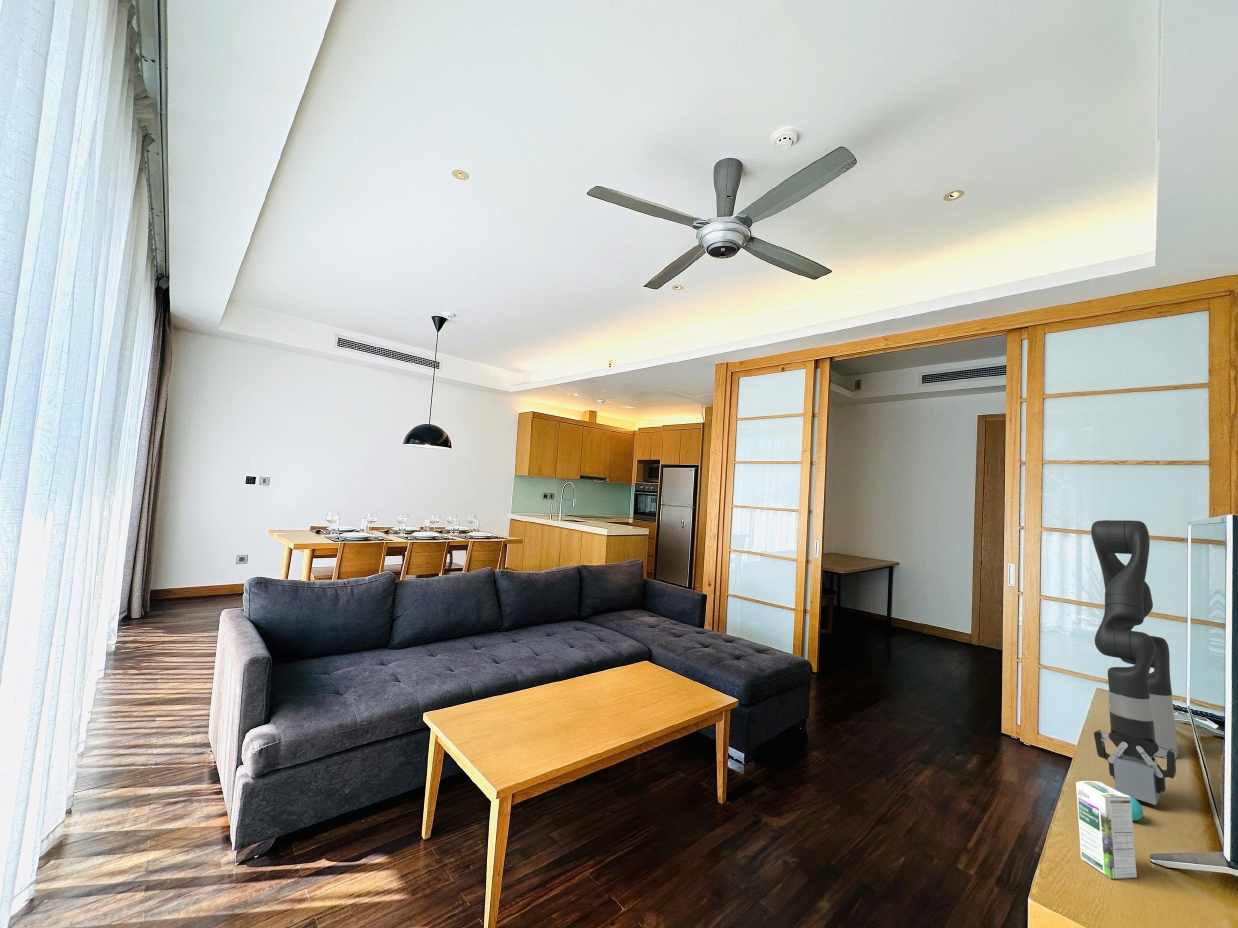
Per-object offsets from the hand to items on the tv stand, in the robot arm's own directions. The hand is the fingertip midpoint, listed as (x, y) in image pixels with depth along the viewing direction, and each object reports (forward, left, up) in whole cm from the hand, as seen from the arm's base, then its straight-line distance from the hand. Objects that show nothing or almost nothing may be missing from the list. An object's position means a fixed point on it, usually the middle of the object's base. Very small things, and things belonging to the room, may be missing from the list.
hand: (1137, 785), depth 118 cm
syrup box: (+39, +1, -4) cm, 40 cm away
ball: (+13, 0, -1) cm, 13 cm away
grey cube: (0, 0, -2) cm, 2 cm away
